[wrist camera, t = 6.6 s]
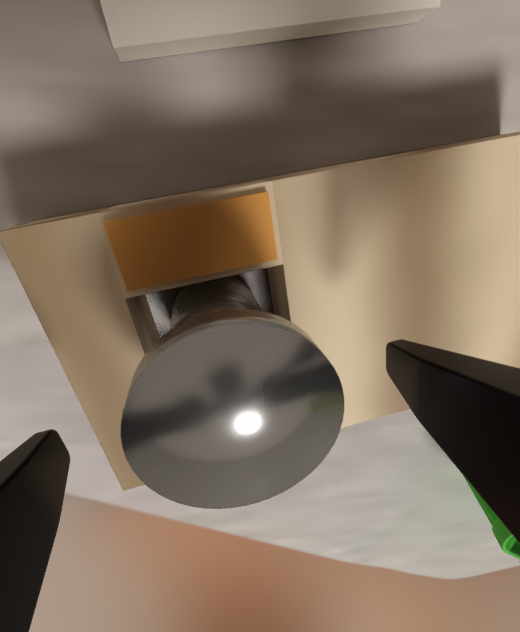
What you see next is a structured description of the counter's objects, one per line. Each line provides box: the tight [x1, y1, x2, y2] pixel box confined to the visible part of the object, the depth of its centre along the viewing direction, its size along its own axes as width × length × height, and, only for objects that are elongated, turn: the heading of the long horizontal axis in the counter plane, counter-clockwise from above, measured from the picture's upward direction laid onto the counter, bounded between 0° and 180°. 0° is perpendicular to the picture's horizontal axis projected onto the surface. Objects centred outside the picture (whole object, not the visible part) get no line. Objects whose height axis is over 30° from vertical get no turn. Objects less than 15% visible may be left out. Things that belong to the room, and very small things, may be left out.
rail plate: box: [0, 132, 520, 491], centre depth 13 cm, size 18×10×3 cm, turn 99°
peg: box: [121, 276, 344, 509], centre depth 11 cm, size 5×5×7 cm
